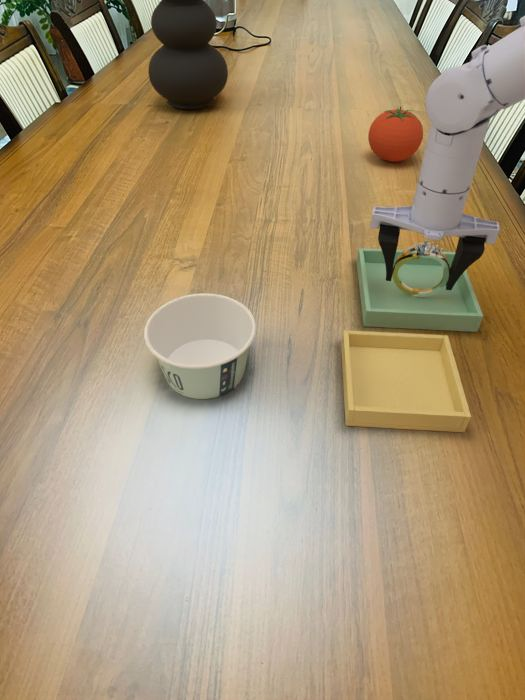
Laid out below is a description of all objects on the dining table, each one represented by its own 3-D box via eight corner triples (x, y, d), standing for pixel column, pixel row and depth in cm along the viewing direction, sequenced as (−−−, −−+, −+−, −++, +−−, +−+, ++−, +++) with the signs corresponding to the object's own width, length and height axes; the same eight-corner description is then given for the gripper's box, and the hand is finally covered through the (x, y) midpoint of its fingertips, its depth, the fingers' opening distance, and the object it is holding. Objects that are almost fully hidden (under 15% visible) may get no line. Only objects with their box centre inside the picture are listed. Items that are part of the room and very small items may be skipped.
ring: (442, 294, 68) (458, 242, 63) (439, 308, 66) (456, 256, 61) (390, 283, 70) (401, 232, 65) (386, 297, 68) (397, 245, 63)
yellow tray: (442, 351, 61) (448, 335, 60) (464, 432, 53) (471, 416, 51) (340, 346, 62) (343, 330, 60) (345, 425, 53) (348, 409, 51)
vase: (220, 119, 117) (209, -81, 92) (142, 114, 119) (112, -83, 94) (235, 93, 130) (230, -88, 105) (165, 89, 132) (144, -89, 107)
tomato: (354, 154, 103) (361, 102, 96) (395, 145, 106) (404, 94, 99) (386, 174, 96) (395, 120, 89) (428, 164, 99) (440, 110, 93)
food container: (277, 366, 59) (279, 323, 55) (203, 427, 53) (197, 385, 48) (206, 321, 65) (202, 279, 61) (131, 372, 59) (120, 329, 54)
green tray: (454, 267, 74) (459, 252, 72) (477, 332, 64) (483, 316, 62) (356, 263, 75) (358, 248, 73) (363, 326, 65) (366, 310, 63)
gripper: (375, 190, 56) (358, 290, 65) (515, 207, 53) (477, 308, 62) (381, 163, 61) (365, 260, 70) (509, 178, 58) (475, 276, 67)
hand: (418, 281), depth 67 cm, fingers closed on ring, 7 cm apart
